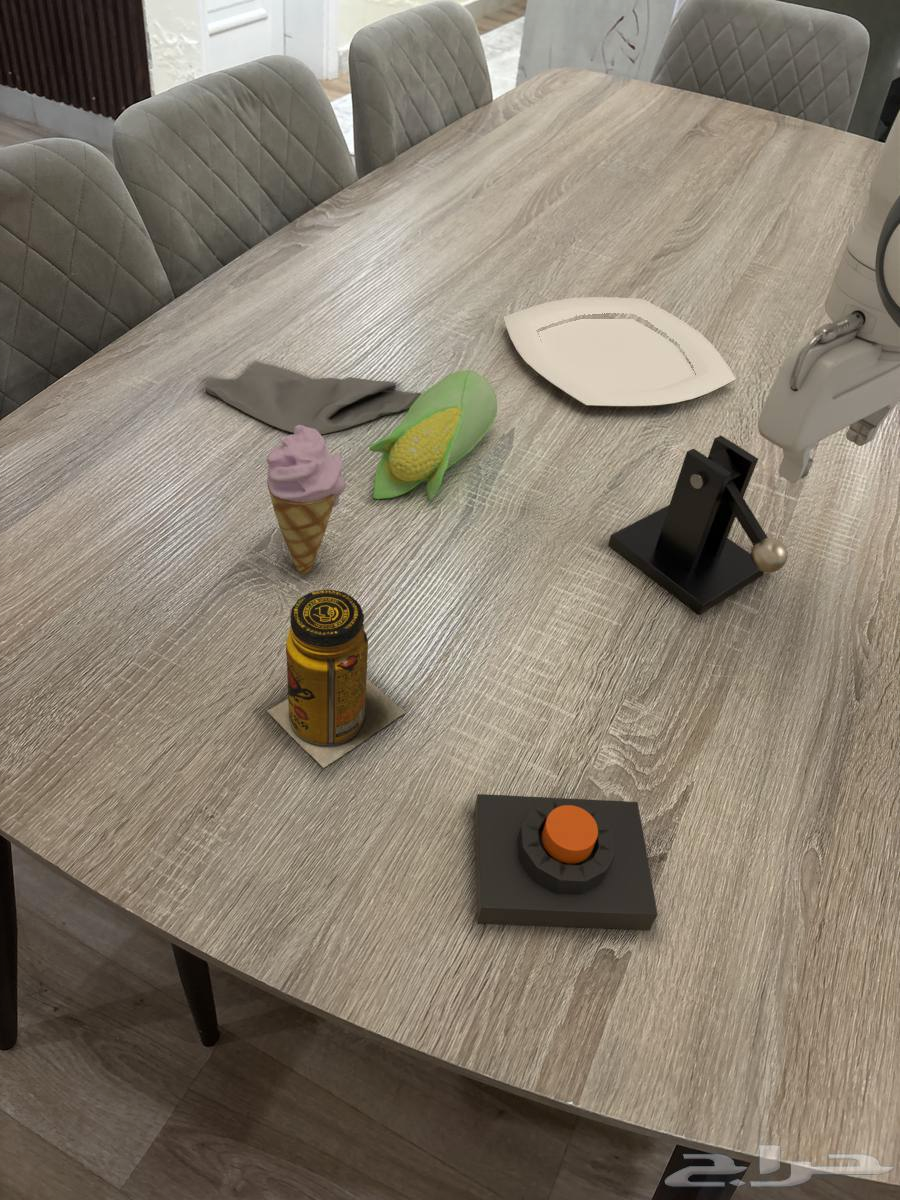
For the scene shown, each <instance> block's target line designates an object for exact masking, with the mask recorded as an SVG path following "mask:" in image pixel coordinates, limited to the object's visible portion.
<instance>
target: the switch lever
mask: <svg viewBox="0 0 900 1200" xmlns="http://www.w3.org/2000/svg"><path fill="white" fill-rule="evenodd" d="M708 456H709V455H708ZM708 456H707V457H708ZM708 458H709V459H711V460H712V461H714V462H715V463H717V464H718V465H720V466H721V467H723V468H725V469H726V470H728V471H729V472H731V475H730V477H729V480H728V483H727V486H726V488H725V491H724V494H723V497H724V499H725V500H726V502H727V504H728V505H729V507H730V508H731V510H732V512H733V513H734V515H735V516H736V517H735V519H736V520H737V521H738V523H739V524H740V526H741V528H742V529H743V531H744V533H745V534H746V536H747V537H748V539H749V541H750V542H751V544H752V545H753V546H752V548H751V550H750V554H751V561H752V563H753V565H754V566H755V567H756V568H757V569H759V570H760V571H763V572H764V573H770V574H771V573H774V572H778V571H780V570H781V569H782V568H783V567H784V566H785V565H786V563H787V561H788V557H789V556H788V555H789V552H788V549H787V546H786V544H784V542H782V541H781V540H780V539H779V538H775V537H771V536H768V534H766V532H765V530H764V529H763V527H762V526H761V524H760V522H759V521H758V519H757V518H756V516H755V514H754V513H753V511H752V509H751V508H750V507H749V505H748V503H747V501H746V500H745V498H744V497H742V495H741V494H740V492H739V490H738V489H737V487H736V486H735V484H734V482H733V481H732V480H733V479H735V478H736V477H738V476H739V475H740V473H739V471H738V469H737V468H736V466H735V465H734V463H733V461H732V460H731V458H730V457H729V455H728V453H727V452H726V450H725V449H723V450H721V451H719V452H717V453H715V454H713V455H711V456H709V457H708Z"/></svg>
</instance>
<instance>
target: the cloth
mask: <svg viewBox="0 0 900 1200" xmlns="http://www.w3.org/2000/svg"><path fill="white" fill-rule="evenodd" d="M397 384H398V382H396V381H387V380H385V381H384V380H371V379H364V378H358V377H352V376H348V377H345V378H343V379H340V378H335V377H324V378H323V377H322V378H311V377H308V376H306V375H303V374H300V373H298V372H295V371H292V370H289V369H285V368H282V367H278V366H275V365H271V364H267V363H262V362H258V361H255V362H253V363H252V365H251V366H250V367H249V368H248V370H247V371H246V372H245V374H241V375H240V376H238V377H236V378H234V379H226V378H213V377H210V378H209V379H208V380H207V384H206V386H204V390H206V392H207V394H209V395H212V396H214V397H216V398H218V399H220V400H222V401H223V402H225V403H227V404H229V406H230V405H231V406H232V407H235V408H236V409H238V410H239V411H241V412H243V413H245V414H247V415H249V416H251V417H253V418H255V419H257V420H259V421H262V422H264V423H266V424H267V425H270V426H272V427H276V428H278V429H280V430H283V431H286V432H290V433H293V434H294V428H295V427H296V426H297V425H303V426H305V427H308V428H313V429H316V430H317V431H318V432H319V433H320V435H324V434H329V433H334V432H339V431H343V430H346V429H348V428H349V429H350V428H352V427H354V426H355V427H356V426H358V425H361V424H364V423H367V422H370V421H372V420H375V419H378V418H380V417H384V416H387V415H391V414H395V413H398V412H402V411H405V410H407V409H408V410H409V409H410V407H411V406H412V405H413V403H414V402H415V401H416V400H417V399H418V398H419V396H420V395H421V394H422V393H421V392H409V391H401V390H394V389H396V387H397Z"/></svg>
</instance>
